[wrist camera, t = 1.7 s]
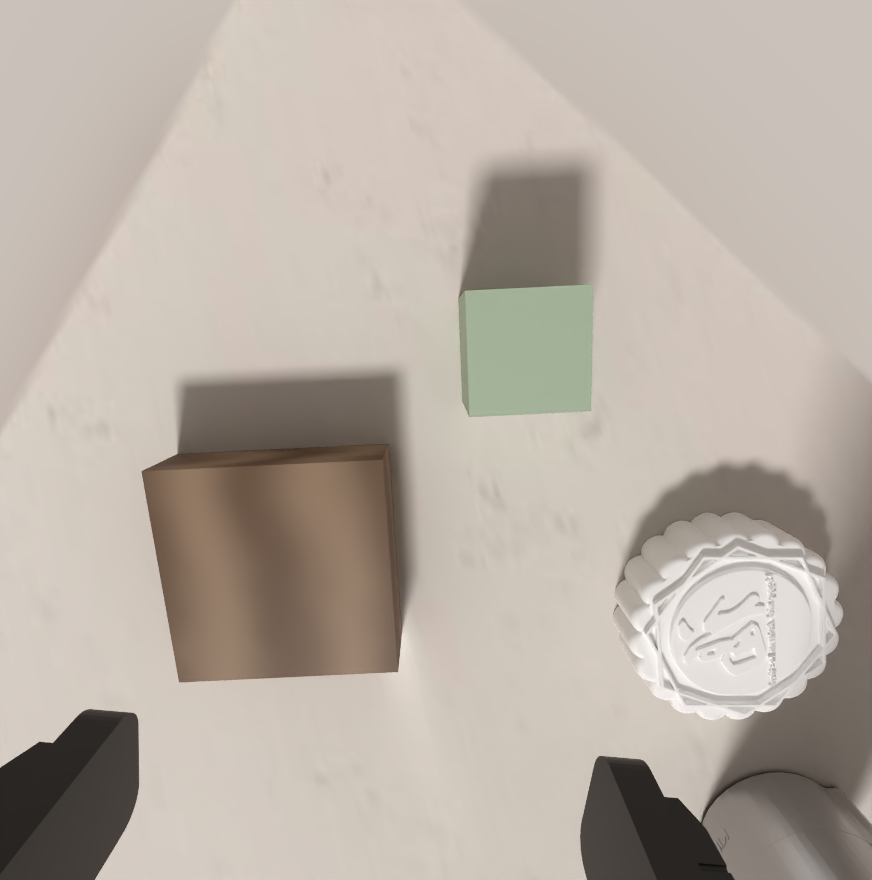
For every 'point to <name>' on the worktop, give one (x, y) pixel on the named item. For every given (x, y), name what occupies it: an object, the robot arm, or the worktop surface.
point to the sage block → (526, 350)
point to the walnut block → (278, 561)
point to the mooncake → (727, 615)
